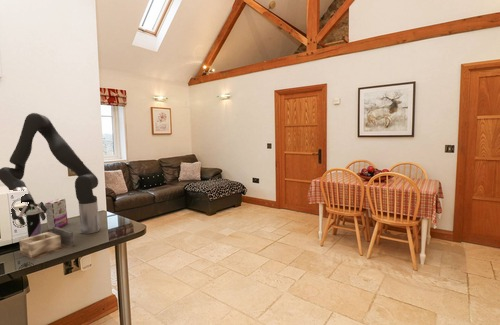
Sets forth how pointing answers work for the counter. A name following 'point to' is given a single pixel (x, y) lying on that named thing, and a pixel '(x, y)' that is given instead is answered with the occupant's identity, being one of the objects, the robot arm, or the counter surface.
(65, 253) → the counter surface
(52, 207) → the candy bar box
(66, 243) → the backstop board
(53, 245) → the socket block
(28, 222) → the spray can
